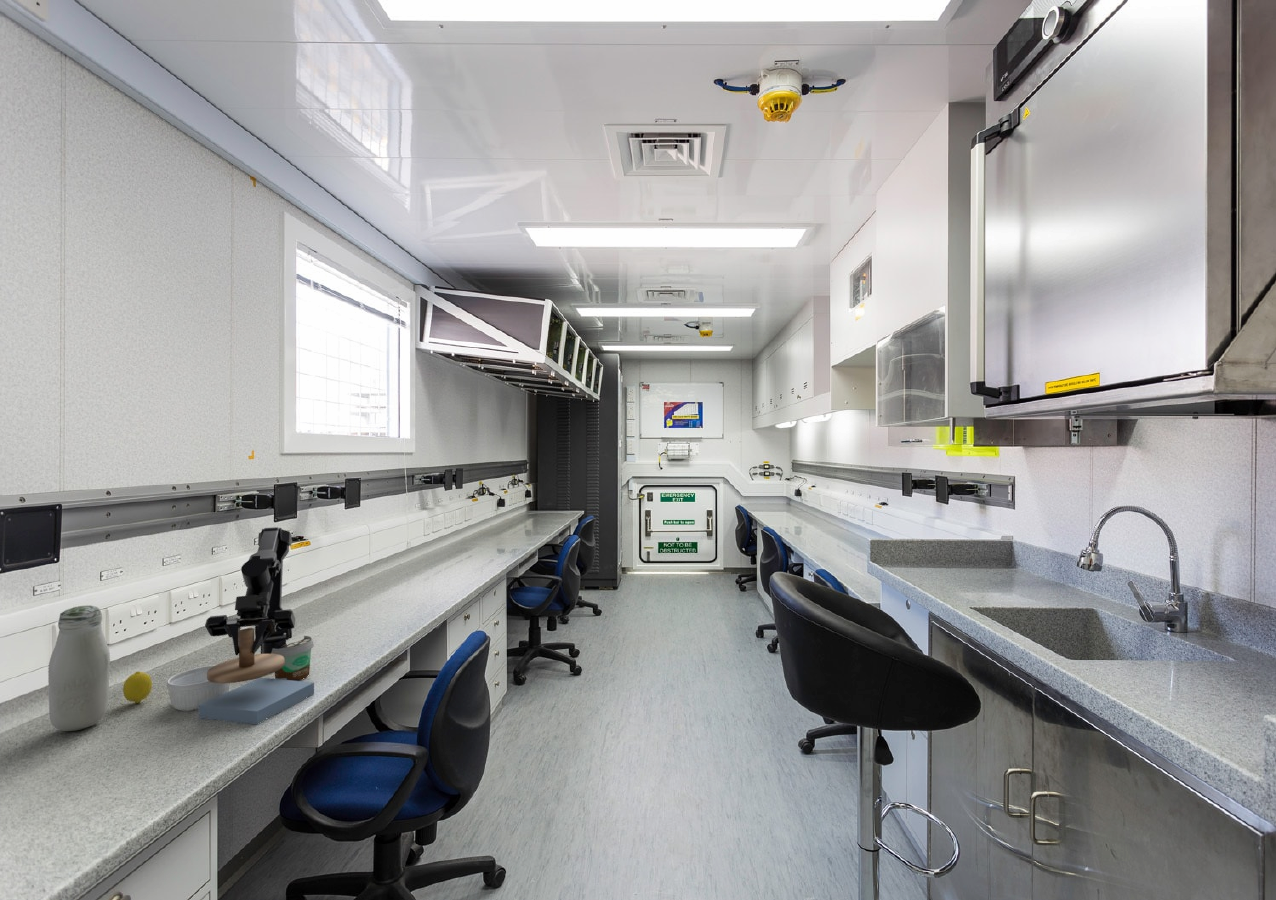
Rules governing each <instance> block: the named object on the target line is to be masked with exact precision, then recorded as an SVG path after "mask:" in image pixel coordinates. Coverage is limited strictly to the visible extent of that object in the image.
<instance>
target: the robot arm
mask: <svg viewBox="0 0 1276 900" xmlns="http://www.w3.org/2000/svg"><path fill="white" fill-rule="evenodd" d="M292 537H293V536H292V534H291V531H289V530H285V529H282V527H278V526H274V527H265V528H262V529H261V532H259V533H258V541H257V545H258V547H257V548H258V549H257V552H255V553H252V554H250V556H249V559H248V560H247V561H246V562H244V563H243V565H242V566H241V568H240V571H241V575H242V578H243V582H244V585H245V587H246V592H245V595H239V596H238V595H237V596H236V597H235V604H234V605H235V606H234V611H237V612H236V615H237V617H233V618H231V617H230V618H228V616H227V614H223V615H210V616H209V617H208V618H207V619H206V620H205V623H204V627H205V629H206V630H207V632H208V634H209V636H211V637H221V636H228V638H232V644H233V650H234V654H235V656H239V631H240V630H242V628H243V627H247V628H248V627H254V644H253V648H252V653H253V654H254V655H255V654H256V653H257V651H258V650H259V649H260V654H271V652H272V649H281V648H283V647H285V646H286V645H288V644H287V641H288V640H290V639H292V638H293V630H292V629H294V628H295V626H296V617H295V614H294V612H293V609H291V608H289V609H283V607H282V593H283V592H282V591H283V572H284V571H283V567H284V563H283V562H284V560H285V558H286V556H287V555H288V554H289V552H290V546H292V541H293V540H292V539H293V538H292ZM238 617H239V618H238Z"/></svg>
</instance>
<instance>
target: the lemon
mask: <svg viewBox="0 0 1276 900" xmlns="http://www.w3.org/2000/svg"><path fill="white" fill-rule="evenodd" d="M152 689H153V681H152V677H151V676H150V675H149V674H148V673H146V672H141V671H139V670H138V671H136V672H134V673H132V674H131V675H130V676H128V677H127V679H125V681H124V684H123V688H122V692H123V696H124V698H125V699H126V700H127V701H129V702H134V703H135V704H139V703H141V701H142V700H144V699H145V698H147V697H148V696H149V695H150V693H151V691H152Z"/></svg>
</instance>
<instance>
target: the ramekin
mask: <svg viewBox="0 0 1276 900" xmlns="http://www.w3.org/2000/svg"><path fill="white" fill-rule="evenodd" d="M215 665H216V664H213V665H205V666H200V667H195V668H191V669H188V670H183V671H181V672H179V673H176V674H174V675H172V676H170V677H169V679H168V680H166V681H167V683H166V688H167V689H168V695H169V701H170V704H171V707H172V708H173V709H175V710H177V709H178V710H177V711H193V709H195V710H199V705H200V704H202V703H204V702H207V701H209V700H211V699H213V698H216V697H218V696H220V695H222V694H225V693H227V692H229V691H230V688H231V683H213V682H210V681H208V680H207V671H208V670H209V669H210V668H212V667H213V666H215Z"/></svg>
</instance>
